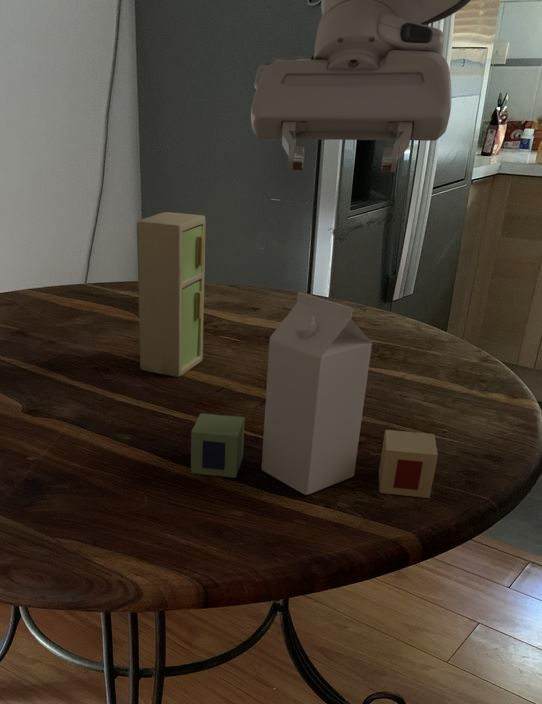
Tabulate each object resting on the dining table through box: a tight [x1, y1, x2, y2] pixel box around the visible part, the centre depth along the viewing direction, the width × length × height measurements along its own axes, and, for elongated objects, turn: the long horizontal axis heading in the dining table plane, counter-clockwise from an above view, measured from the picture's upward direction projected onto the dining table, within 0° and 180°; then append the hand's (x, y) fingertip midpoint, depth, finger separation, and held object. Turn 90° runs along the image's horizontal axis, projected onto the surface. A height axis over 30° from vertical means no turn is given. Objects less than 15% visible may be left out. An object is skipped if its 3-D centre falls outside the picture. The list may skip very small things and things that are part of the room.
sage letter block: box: [190, 413, 246, 479], centre depth 81 cm, size 5×5×5 cm
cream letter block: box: [378, 429, 439, 499], centre depth 76 cm, size 5×5×5 cm
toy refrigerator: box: [136, 211, 207, 378], centre depth 104 cm, size 8×7×21 cm
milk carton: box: [261, 291, 373, 496], centre depth 75 cm, size 7×7×19 cm
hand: (341, 167), depth 75 cm, fingers open, 8 cm apart
